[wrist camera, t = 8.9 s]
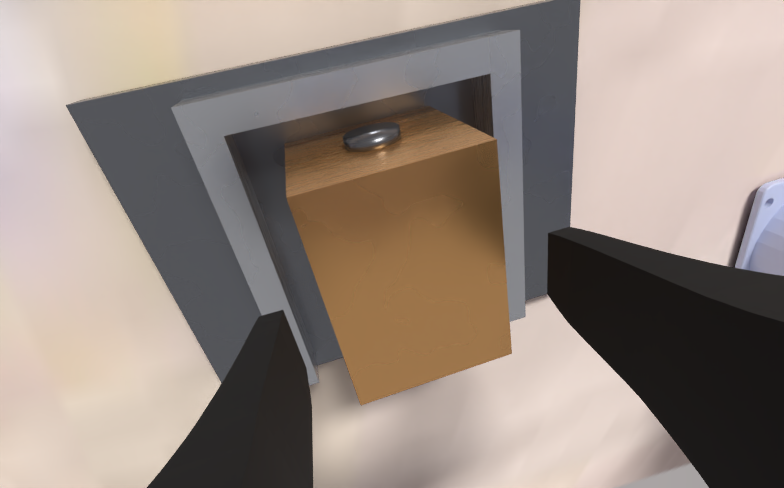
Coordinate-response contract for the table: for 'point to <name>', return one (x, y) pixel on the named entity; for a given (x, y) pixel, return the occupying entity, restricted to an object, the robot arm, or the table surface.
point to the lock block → (404, 245)
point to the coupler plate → (318, 116)
